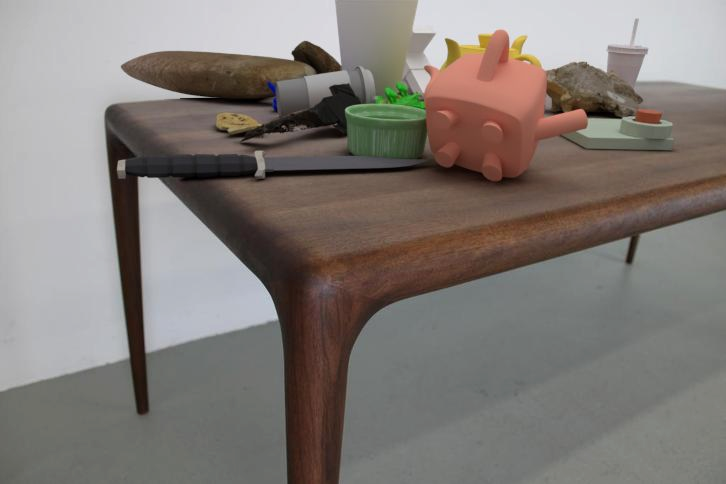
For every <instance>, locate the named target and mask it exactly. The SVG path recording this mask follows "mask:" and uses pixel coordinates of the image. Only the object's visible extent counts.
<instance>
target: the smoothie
mask: <svg viewBox="0 0 726 484" xmlns="http://www.w3.org/2000/svg"><path fill="white" fill-rule="evenodd" d="M639 21H640V18H634V21H633V22H634V23H633V27H632V32H631V37H630V42H629V44H607V47H606V48H607V49H606V52H607V62H606V63H607V65H606V73H610V72H611V71H612V70H614V71H616V72H617V74H618V76H619V77H620V79H621V80H624V81H625V82H626V83H627V84H628V85H630V86H631V87H632V88H633V89H634V90H635V86H636V83H637V79H638V77H639V74H640V71H641V68H642V66H643V62H644V59H645V56H646V55H648V53H649V52H648V51H649V48H648V47H646V46H642V45H635V44H634V43H635V39H636V34H637V30H638V25H639Z"/></svg>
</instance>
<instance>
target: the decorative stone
mask: <svg viewBox="0 0 726 484" xmlns="http://www.w3.org/2000/svg"><path fill="white" fill-rule="evenodd" d="M290 54H291V56H292V57H293V60H294V61H299V62H303V63H305V64H307V65H309V66H311V67H312V68H313V69H315V71H316V73H317V74H324V73H330V72H337V71H342V66H341V63H340V62H339V61H337V59H336V58H334V56H332V55H331V54H330V53H329V52H327V51H326V50H325V49H324V48H322V47H321V46H319V45H316V44H315V43H312V42H311V41H309V40H303V41H301V42H300V43H299V44H297V45H296V46H295V47H294V49H293V50H291V53H290Z"/></svg>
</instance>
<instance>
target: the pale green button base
mask: <svg viewBox="0 0 726 484" xmlns="http://www.w3.org/2000/svg"><path fill="white" fill-rule="evenodd" d="M635 117H636V116H633V115H632V116H629V115H628V116H626V117H621V118H593V117H591V118H590V117H589V118H588V117H587V120H588V125H587V128H586V129H582V130H578V131H575V132H571V133H567V134H563V135H561V137H563V138H565V139H568V140H569V141H571V142H573V143H575V144H577V145H578V146H580V147H582V148H584V149H587V150H631V151H632V150H633V151H634V150H635V151H673V147H674V144H675V138H672V137H671V135H672V132H673V128H674V123H673V122H670V121H668V120H665V119H660V123H659V124H648V123H641V122H636V121H635Z"/></svg>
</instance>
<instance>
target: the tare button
mask: <svg viewBox="0 0 726 484" xmlns="http://www.w3.org/2000/svg"><path fill="white" fill-rule="evenodd" d="M662 114H663V113H662V112H661V111H659V110H656V109H655V110H654V109H647V108H645V109H644V108H639V109H637V112H636V113H635V116H634V117H635V121H636V122H641V123H648V124H659V123H660V120H662V119H661V118H662Z"/></svg>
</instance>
